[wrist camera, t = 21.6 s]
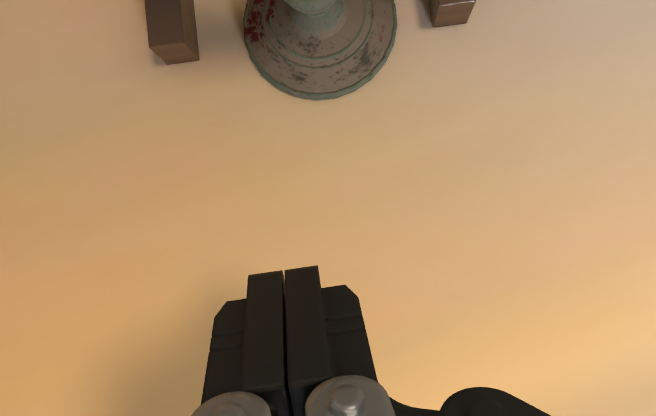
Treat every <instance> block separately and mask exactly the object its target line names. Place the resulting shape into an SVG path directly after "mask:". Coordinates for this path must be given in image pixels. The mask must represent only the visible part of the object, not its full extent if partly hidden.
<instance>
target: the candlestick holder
mask: <svg viewBox="0 0 656 416" xmlns="http://www.w3.org/2000/svg"><path fill="white" fill-rule="evenodd" d="M243 23H244V38H245V43H246V46H247V49H248V51H249V54H250V57H251V60H252V61H253V63H254V64H255V65H256V67H257V68H258V70H259V71H260V73H261V74H262V75H263V76H264V77H265V78H266V79H267V80H269V81H270V82H271V83H272V84H273V85H275V86H276V87H277V88H279V89H281V90H283V91H286V92H288V93H290V94H292V95H294V96H298V97H304V98H310V99H325V98H336V97H338V96H341V95H344V94H347V93H349V92H352V91H355V90H356V89H358V88H359V87H361V86H362V85H364V84H365V83H366V82H368V81H369V80H371V79H372V78H373V77H374V76H375V74H376V73H377V72H378V71H379V70H380V69H381V67H382V66H383V65H384V64H385V62H386V60H387V58H388V56H389V54H390V52H391V50H392V48H393V46H394V41H395V35H396V30H397V18H396V7H395V3H394V0H247V3H246V8H245V13H244V19H243Z"/></svg>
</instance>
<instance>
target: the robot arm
mask: <svg viewBox="0 0 656 416" xmlns="http://www.w3.org/2000/svg"><path fill="white" fill-rule="evenodd" d="M191 416H550V415H548V414H547V413H545V412H543V411H541V410H539V409H537V408H535V407H533V406H531V405H530V404H528V403H526V402H524V401H522V400H520V399H518V398H516V397H514V396H512V395H511V394H508V393H506V392H504V391H501V390H498V389H494V388H488V387H473V388H468V389H464V390H461V391H458V392H456V393H454V394H453V395H451V396H450V397H449V398H448V399H447V400H446V401H445V402H444V404H443V405H442V407H441V410H440V411H438V410H429V409H420V408H414V407H410V406H406V405H403V404H401V403H399V402H397V401H395V400H393V399H392V398H390V397H389V396H388V394H387V392H386V390H385V389H384V388H383V387H382V386H381V385H380V384H379V383H378V380H377V377H376V373H375V368H374V364H373V360H372V355H371V351H370V347H369V342H368V338H367V334H366V330H365V325H364V321H363V316H362V312H361V308H360V303H359V299H358V297H357V296H356V295H355V294H354V293H353V292H352V291H351V290H350V289H349V288H348V287H347V286H346V285H340V286H333V287H326V288H321V285H320V278H319V271H318V265H317V266H310V267H303V268H296V269H289V270H285V280H284V275H283V271H282V270H281V271H274V272H267V273H260V274H253V275H249V276H248V286H247V299H241V300H234V301H227V302H226V303H225V304H224V306H223V307H222V308H221V310H220V311H219V312H218V314H217V315H216V316H215V318H214V324H213V331H212V338H211V343H210V352H209V356H208V362H207V369H206V375H205V382H204V388H203V394H202V401H201V406H199V407H198V408H197V409H196V410H195V411H194V413H193V414H192V415H191Z"/></svg>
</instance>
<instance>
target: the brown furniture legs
mask: <svg viewBox="0 0 656 416" xmlns="http://www.w3.org/2000/svg"><path fill="white" fill-rule="evenodd" d="M475 2H476V0H429V3H430V10H431V17H432V25H433V27H440V26H447V25H454V24H461V23H467V21H468V18H469V16H470V14H471V11H472V9H473V7H474V4H475ZM145 9H146V19H147V30H148V41H149V48H150V49H152V50H153V51H154V52H155V53H156V54H157V55H158V56H159V57H160V58H161V59H162V60H163V61H164V62H165V63H166V64H167V65H169V64H176V63H183V62H190V61H197V60H199V51H198V41H197V31H196V21H195V11H194V2H193V0H145Z"/></svg>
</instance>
